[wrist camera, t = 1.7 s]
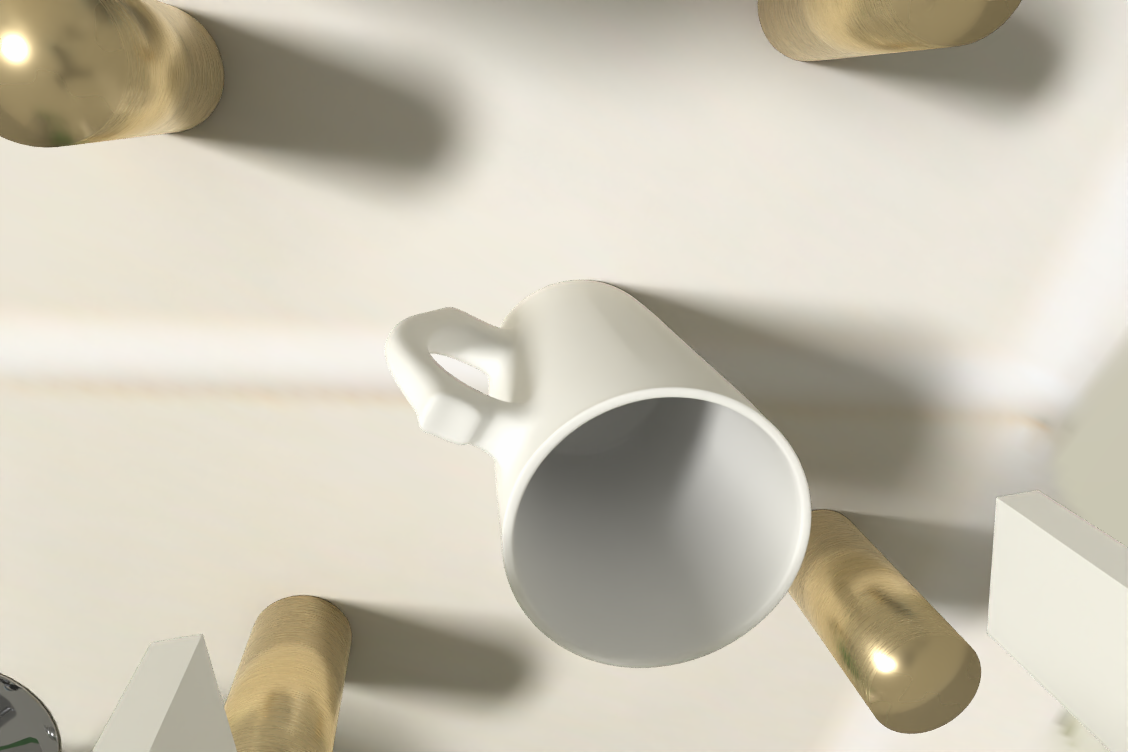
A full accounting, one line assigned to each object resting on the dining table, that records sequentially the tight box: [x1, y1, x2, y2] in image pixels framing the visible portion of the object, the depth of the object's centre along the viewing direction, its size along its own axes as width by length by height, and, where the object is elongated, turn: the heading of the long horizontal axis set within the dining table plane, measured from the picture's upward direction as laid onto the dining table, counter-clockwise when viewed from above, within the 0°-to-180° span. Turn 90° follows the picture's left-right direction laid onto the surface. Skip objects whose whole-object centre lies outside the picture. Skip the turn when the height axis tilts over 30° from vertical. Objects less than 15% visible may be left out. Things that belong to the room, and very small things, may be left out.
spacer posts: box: [0, 0, 1021, 752], centre depth 25 cm, size 24×24×8 cm
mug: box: [385, 280, 811, 668], centre depth 23 cm, size 10×7×12 cm, turn 60°
